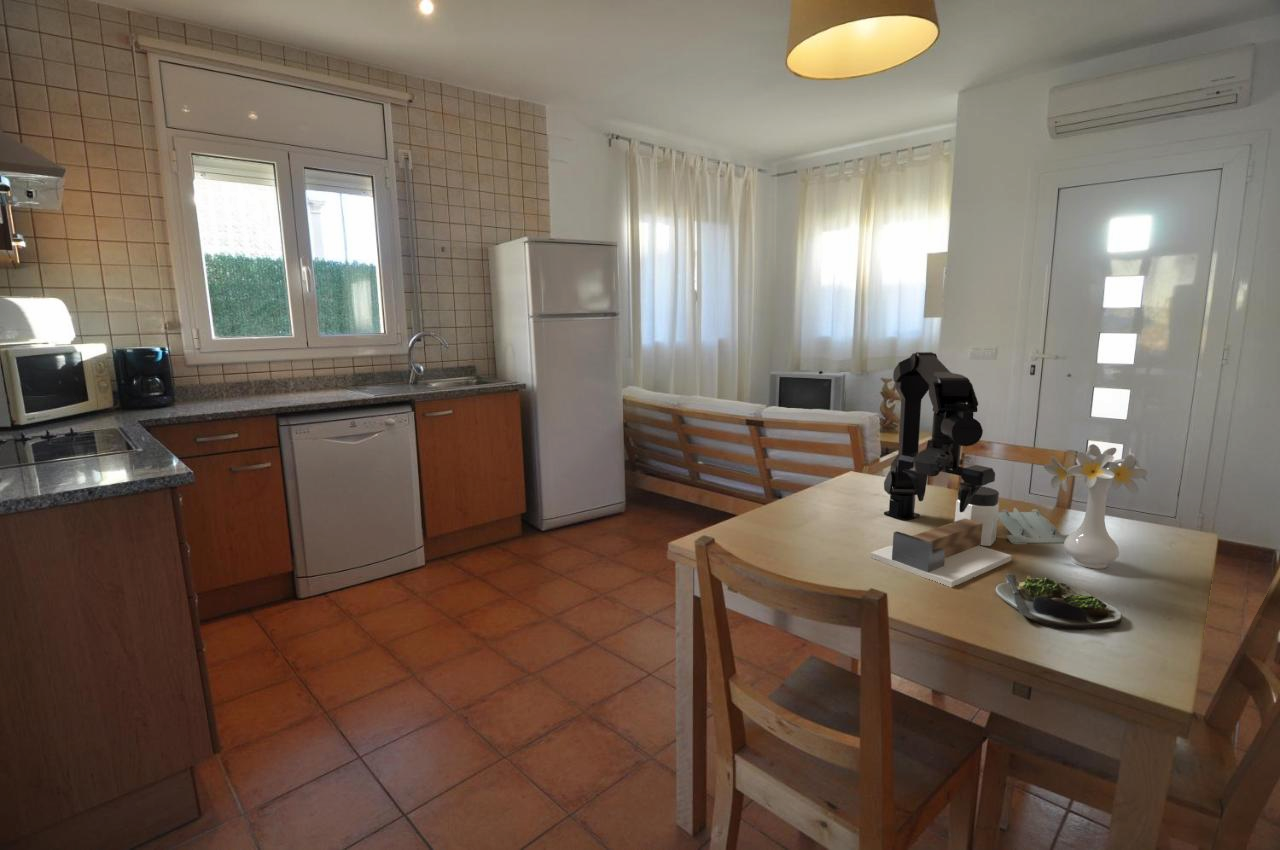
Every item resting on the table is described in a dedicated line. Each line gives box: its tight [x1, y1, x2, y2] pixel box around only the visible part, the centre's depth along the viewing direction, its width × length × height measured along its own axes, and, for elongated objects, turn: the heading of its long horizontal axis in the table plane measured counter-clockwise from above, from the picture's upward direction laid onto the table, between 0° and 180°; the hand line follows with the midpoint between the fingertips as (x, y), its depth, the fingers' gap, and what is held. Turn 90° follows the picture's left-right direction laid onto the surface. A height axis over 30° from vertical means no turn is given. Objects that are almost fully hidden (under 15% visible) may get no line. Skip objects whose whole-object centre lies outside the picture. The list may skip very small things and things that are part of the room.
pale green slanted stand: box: [997, 507, 1070, 545], centre depth 144 cm, size 14×6×15 cm
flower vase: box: [1043, 443, 1149, 570], centre depth 124 cm, size 13×18×25 cm
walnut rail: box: [913, 518, 983, 558], centre depth 130 cm, size 22×4×5 cm, turn 123°
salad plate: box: [995, 573, 1123, 631], centre depth 109 cm, size 19×18×5 cm
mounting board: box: [869, 544, 1012, 588], centre depth 130 cm, size 23×18×1 cm
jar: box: [954, 486, 1000, 547], centre depth 140 cm, size 9×8×12 cm
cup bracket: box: [892, 531, 945, 573], centre depth 125 cm, size 6×8×6 cm
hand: (940, 506), depth 131 cm, fingers open, 9 cm apart
